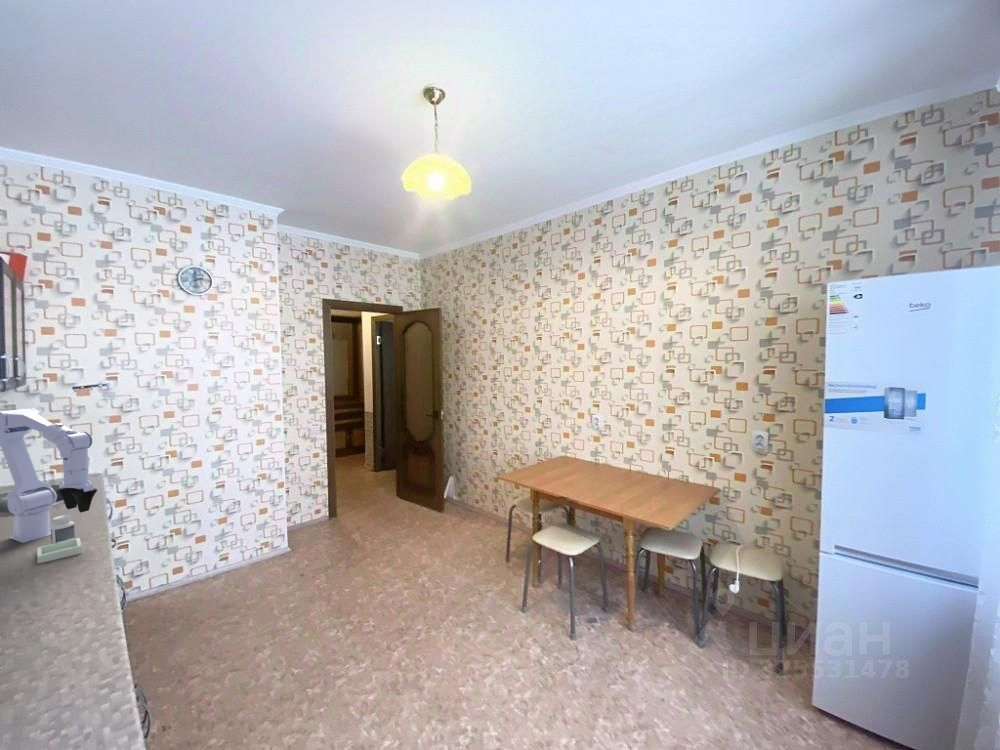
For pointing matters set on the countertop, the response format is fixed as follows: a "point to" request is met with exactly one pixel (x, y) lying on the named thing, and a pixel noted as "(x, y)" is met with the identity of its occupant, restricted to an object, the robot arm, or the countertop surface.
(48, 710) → the countertop surface
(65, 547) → the tray
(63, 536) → the pill bottle
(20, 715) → the countertop surface
